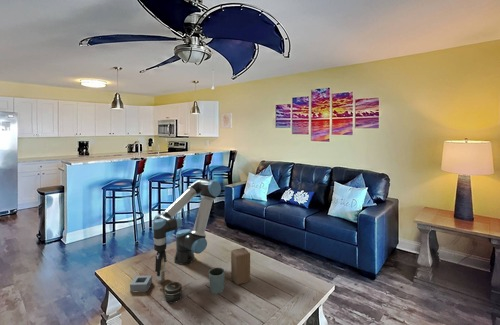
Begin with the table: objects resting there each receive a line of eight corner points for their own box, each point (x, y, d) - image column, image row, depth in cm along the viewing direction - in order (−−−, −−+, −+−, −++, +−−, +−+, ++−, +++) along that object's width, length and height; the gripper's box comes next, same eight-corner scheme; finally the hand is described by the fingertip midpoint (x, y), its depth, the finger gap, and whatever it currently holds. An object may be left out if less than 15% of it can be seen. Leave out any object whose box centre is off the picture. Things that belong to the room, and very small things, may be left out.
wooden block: (237, 285, 172) (236, 256, 170) (230, 278, 181) (230, 249, 179) (250, 281, 177) (250, 252, 174) (244, 274, 186) (244, 246, 183)
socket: (152, 282, 175) (151, 275, 175) (146, 291, 165) (146, 284, 165) (136, 283, 175) (136, 275, 174) (130, 292, 165) (129, 284, 164)
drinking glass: (211, 295, 162) (210, 277, 160) (207, 286, 171) (206, 269, 169) (227, 291, 166) (227, 273, 164) (222, 283, 175) (222, 265, 173)
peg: (165, 279, 179) (164, 257, 177) (163, 283, 175) (163, 260, 173) (159, 280, 178) (158, 257, 176) (157, 283, 174) (156, 260, 172)
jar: (168, 292, 165) (168, 281, 164) (184, 293, 164) (184, 281, 163) (161, 303, 155) (161, 290, 154) (178, 304, 154) (178, 291, 153)
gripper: (159, 236, 184) (160, 267, 187) (148, 250, 162) (150, 285, 165) (170, 236, 184) (171, 267, 187) (161, 250, 163) (162, 285, 165)
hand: (161, 275), depth 176 cm, fingers open, 9 cm apart
